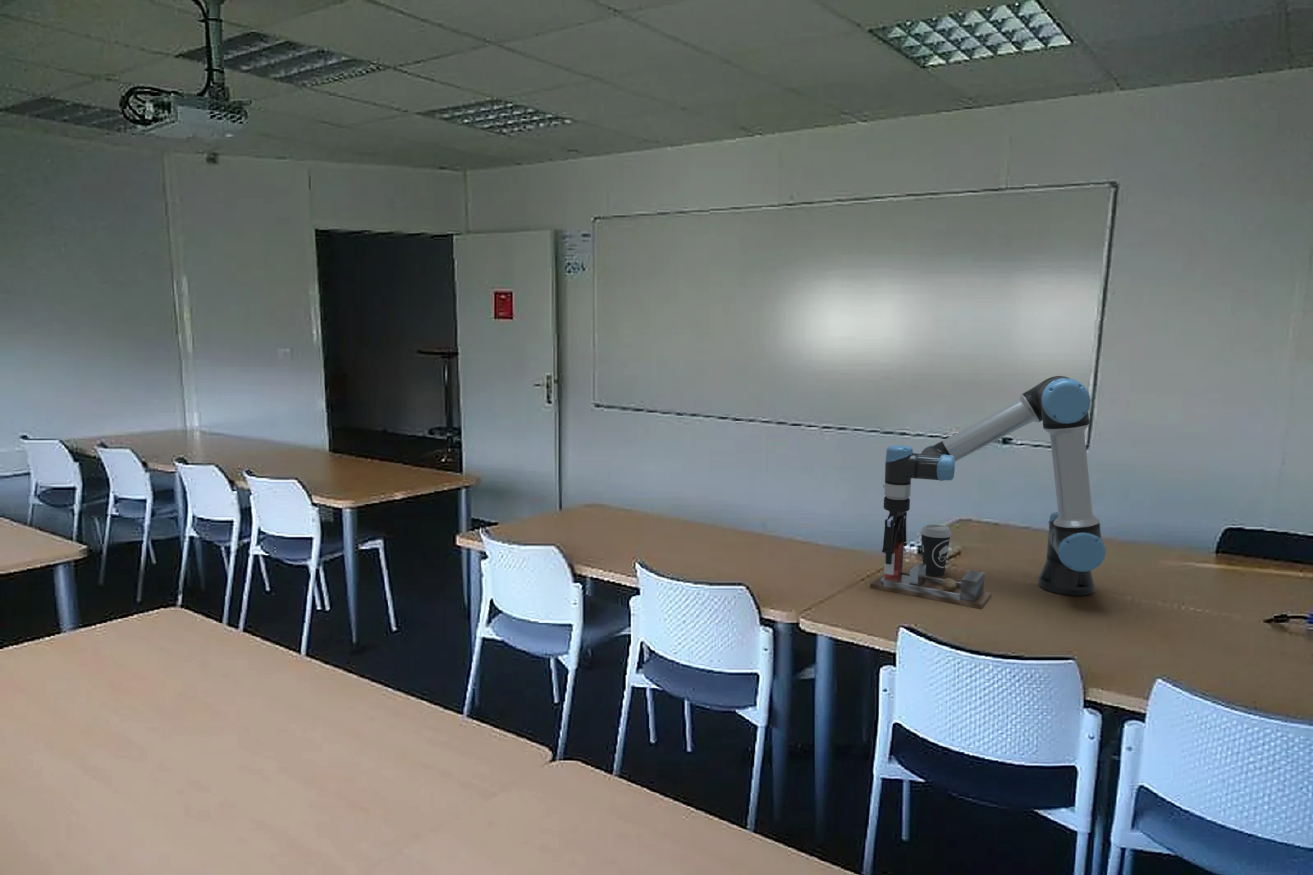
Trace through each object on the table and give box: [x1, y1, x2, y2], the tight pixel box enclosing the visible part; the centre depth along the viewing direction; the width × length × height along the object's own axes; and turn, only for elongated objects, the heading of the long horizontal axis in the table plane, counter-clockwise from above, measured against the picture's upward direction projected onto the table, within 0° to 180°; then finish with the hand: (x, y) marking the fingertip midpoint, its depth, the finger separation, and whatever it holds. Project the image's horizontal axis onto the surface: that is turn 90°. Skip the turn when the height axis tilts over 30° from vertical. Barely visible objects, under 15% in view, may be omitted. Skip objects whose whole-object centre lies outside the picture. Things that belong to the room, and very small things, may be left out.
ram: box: [881, 541, 927, 586], centre depth 244 cm, size 11×8×12 cm
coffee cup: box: [919, 523, 953, 577], centre depth 258 cm, size 10×10×15 cm
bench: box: [869, 570, 992, 610], centre depth 240 cm, size 32×12×7 cm, turn 56°
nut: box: [942, 577, 957, 592], centre depth 237 cm, size 4×4×4 cm
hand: (893, 570), depth 246 cm, fingers open, 8 cm apart
